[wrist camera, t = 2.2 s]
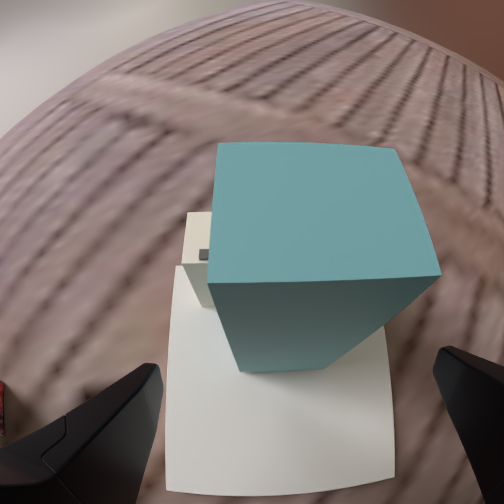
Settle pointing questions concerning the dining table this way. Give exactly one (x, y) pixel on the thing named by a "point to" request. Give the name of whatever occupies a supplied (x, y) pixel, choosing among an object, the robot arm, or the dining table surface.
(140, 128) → the dining table surface
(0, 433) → the snack box
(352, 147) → the tall teal pillar
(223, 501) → the dining table surface
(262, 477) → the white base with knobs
